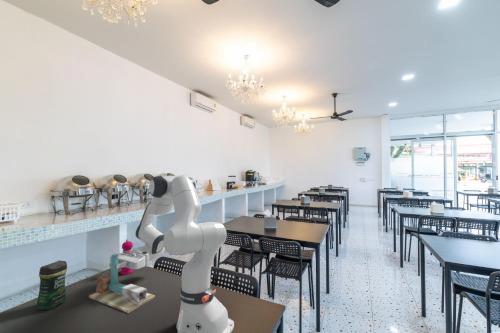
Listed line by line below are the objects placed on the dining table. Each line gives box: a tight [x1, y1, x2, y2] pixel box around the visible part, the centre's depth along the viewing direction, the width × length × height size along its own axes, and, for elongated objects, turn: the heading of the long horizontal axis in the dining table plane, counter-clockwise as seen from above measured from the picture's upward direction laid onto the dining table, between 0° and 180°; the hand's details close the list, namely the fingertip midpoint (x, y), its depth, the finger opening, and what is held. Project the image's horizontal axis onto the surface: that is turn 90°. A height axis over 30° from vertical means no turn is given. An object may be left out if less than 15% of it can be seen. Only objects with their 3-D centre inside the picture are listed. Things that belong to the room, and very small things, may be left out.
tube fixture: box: [88, 271, 156, 314], centre depth 110 cm, size 28×14×8 cm, turn 64°
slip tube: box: [107, 253, 128, 294], centre depth 111 cm, size 17×3×16 cm, turn 64°
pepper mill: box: [120, 238, 134, 276], centre depth 139 cm, size 7×7×20 cm
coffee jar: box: [36, 260, 68, 311], centre depth 104 cm, size 10×8×19 cm
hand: (112, 265), depth 112 cm, fingers closed on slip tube, 3 cm apart
